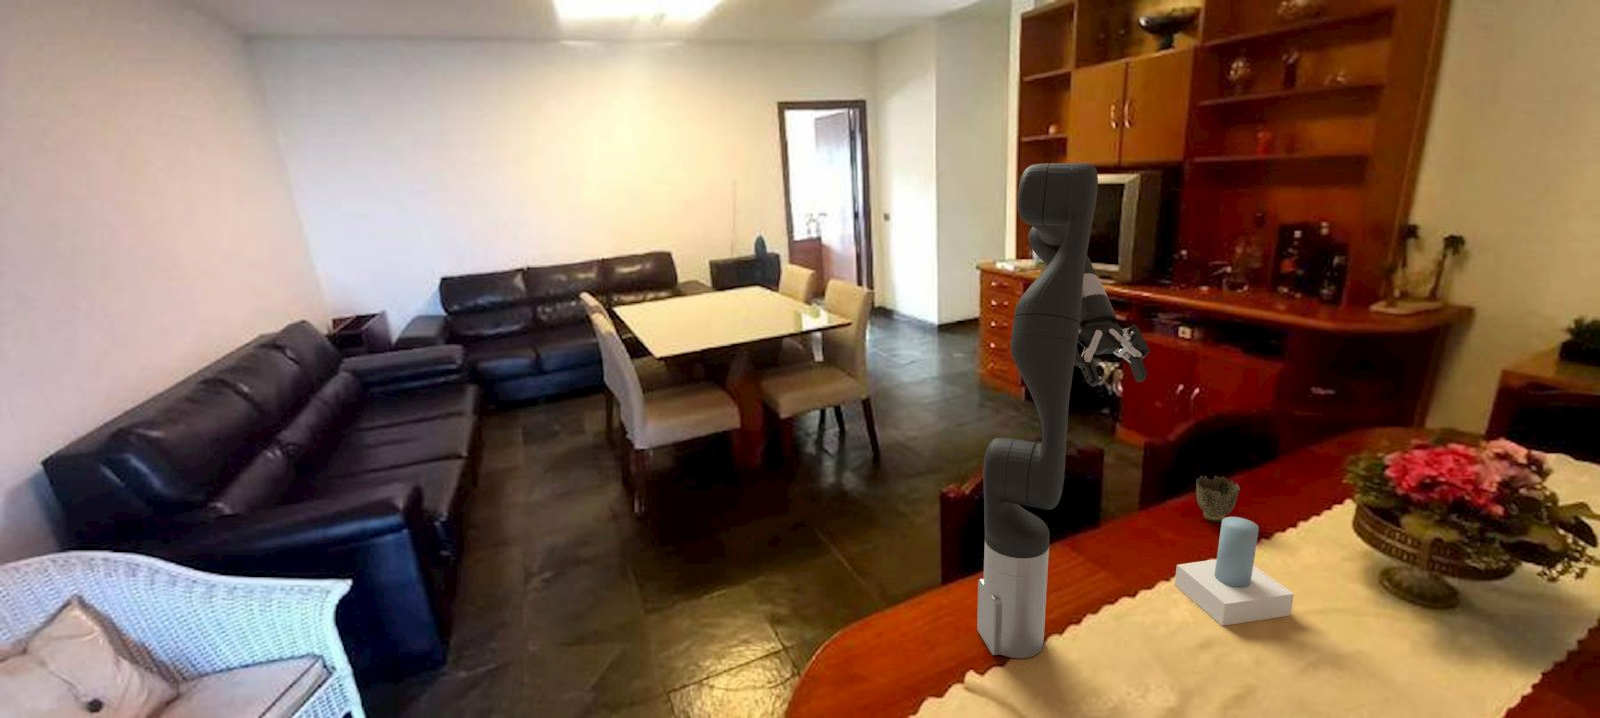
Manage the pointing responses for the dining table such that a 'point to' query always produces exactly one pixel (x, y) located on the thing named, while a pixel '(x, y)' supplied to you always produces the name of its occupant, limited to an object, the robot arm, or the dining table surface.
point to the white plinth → (1233, 594)
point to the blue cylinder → (1236, 552)
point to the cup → (1216, 497)
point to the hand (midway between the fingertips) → (1119, 382)
